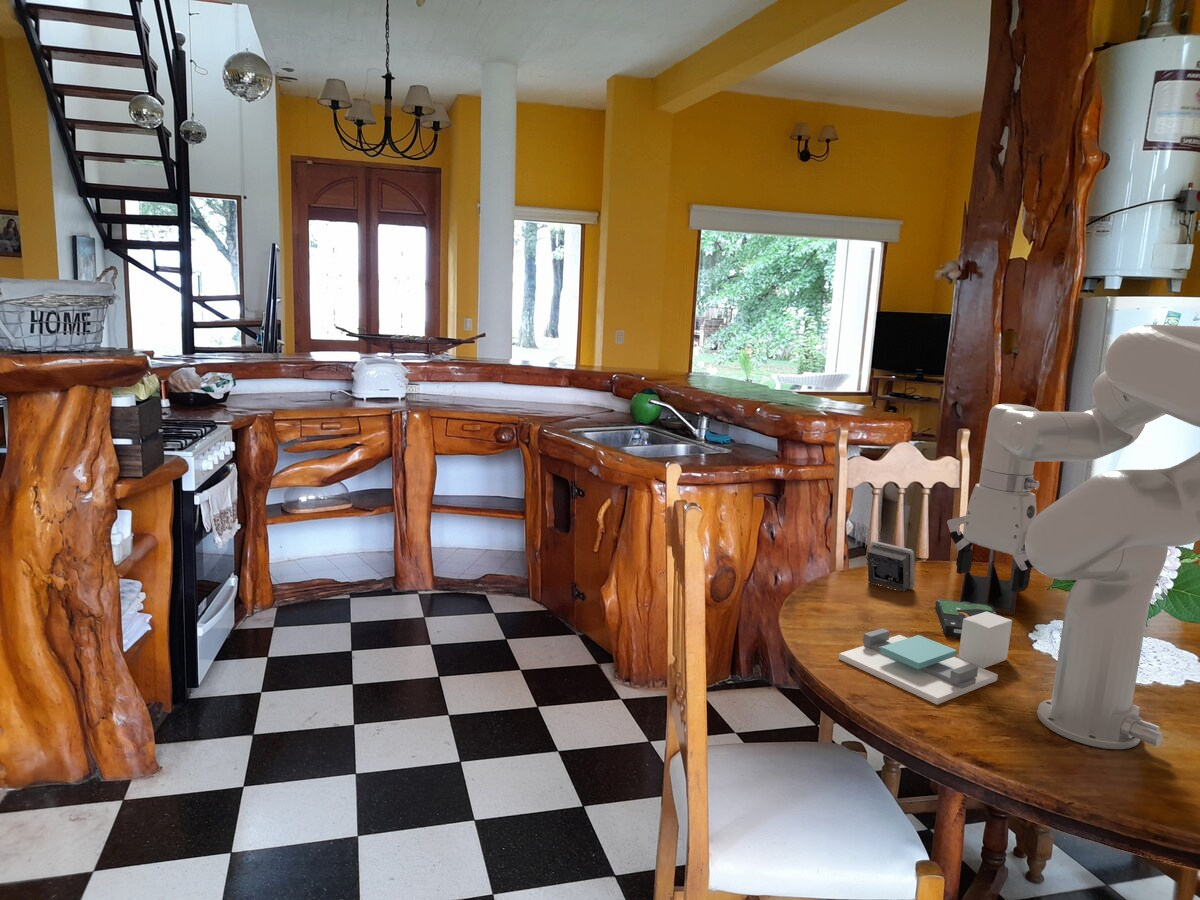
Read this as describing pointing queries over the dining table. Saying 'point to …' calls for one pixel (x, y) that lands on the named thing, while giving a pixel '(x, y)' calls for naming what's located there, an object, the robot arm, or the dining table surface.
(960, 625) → the disk drive
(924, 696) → the rail panel
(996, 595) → the letter holder
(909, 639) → the plate
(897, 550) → the electrical switch
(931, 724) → the dining table surface
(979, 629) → the block
